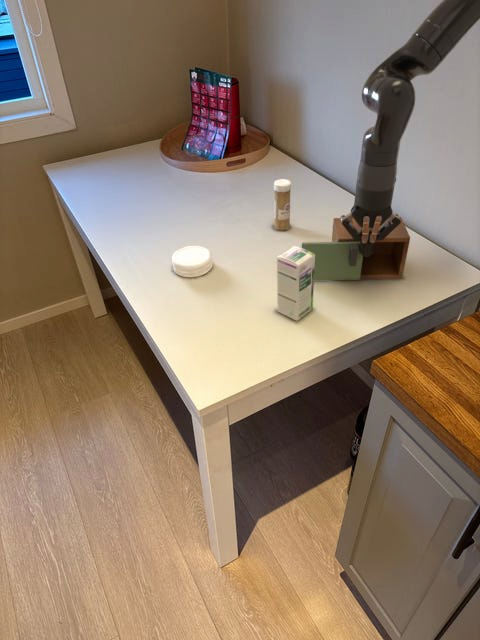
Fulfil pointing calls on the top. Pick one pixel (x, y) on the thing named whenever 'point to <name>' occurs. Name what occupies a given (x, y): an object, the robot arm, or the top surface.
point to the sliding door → (336, 260)
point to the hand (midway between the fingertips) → (365, 255)
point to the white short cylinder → (192, 261)
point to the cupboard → (379, 251)
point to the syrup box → (295, 282)
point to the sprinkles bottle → (282, 204)
